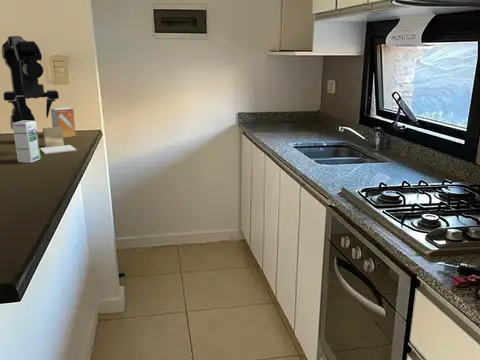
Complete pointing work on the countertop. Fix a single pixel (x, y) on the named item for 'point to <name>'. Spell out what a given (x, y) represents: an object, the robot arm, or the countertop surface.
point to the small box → (64, 120)
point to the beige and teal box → (53, 137)
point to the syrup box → (26, 141)
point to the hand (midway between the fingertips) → (34, 118)
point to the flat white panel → (57, 149)
